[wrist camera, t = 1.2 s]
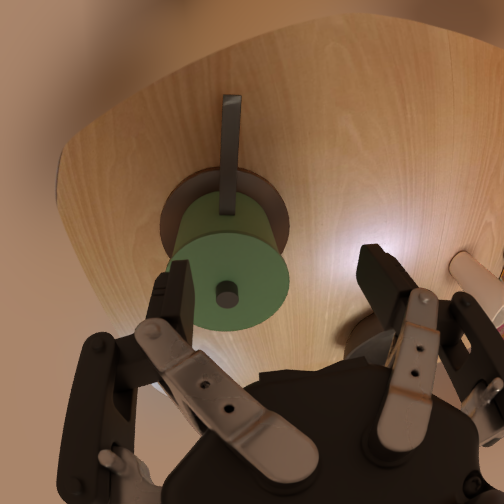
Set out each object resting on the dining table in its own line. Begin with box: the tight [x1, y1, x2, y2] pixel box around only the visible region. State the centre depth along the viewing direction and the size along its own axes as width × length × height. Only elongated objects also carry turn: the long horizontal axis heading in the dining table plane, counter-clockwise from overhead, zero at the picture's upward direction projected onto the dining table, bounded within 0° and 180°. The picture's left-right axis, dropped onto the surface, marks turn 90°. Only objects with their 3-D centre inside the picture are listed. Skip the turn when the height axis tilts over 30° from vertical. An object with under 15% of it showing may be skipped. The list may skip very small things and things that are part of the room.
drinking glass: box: [449, 251, 504, 329], centre depth 38 cm, size 7×7×15 cm
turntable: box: [160, 167, 290, 259], centre depth 36 cm, size 16×16×1 cm
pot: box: [165, 95, 290, 331], centre depth 28 cm, size 22×12×12 cm, turn 176°
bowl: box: [344, 313, 395, 366], centre depth 47 cm, size 12×22×6 cm, turn 105°
